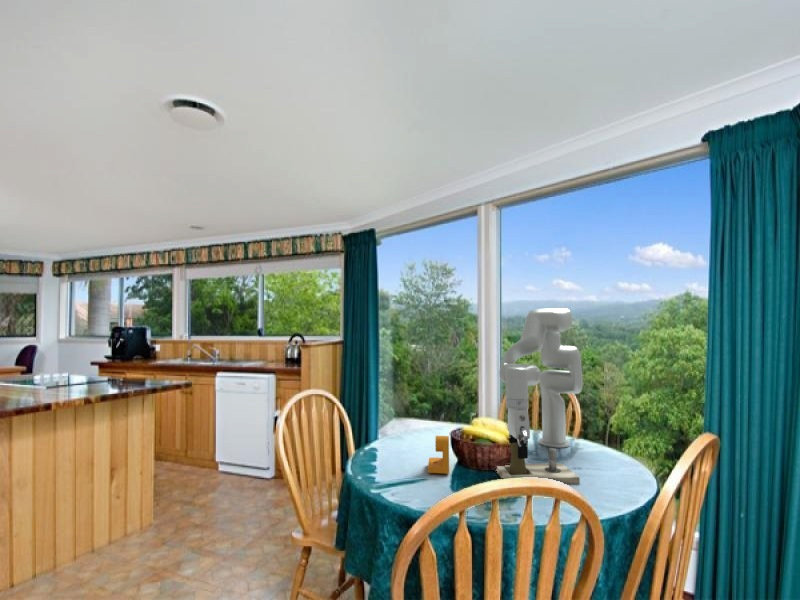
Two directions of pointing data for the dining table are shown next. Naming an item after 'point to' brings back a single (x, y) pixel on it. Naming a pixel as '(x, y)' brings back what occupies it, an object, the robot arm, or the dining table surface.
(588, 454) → the dining table surface
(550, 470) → the beige panel with knob
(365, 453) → the dining table surface
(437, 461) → the bracket
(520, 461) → the olive rounded piece
